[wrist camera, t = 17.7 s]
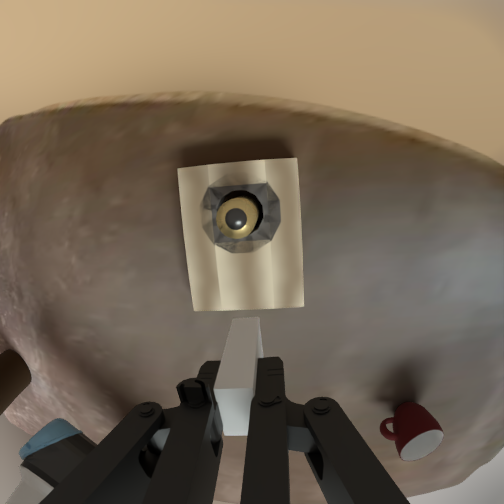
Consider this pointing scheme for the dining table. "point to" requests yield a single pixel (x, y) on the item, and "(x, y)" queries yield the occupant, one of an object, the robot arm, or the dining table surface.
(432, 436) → the mug
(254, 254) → the jig
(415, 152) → the dining table surface
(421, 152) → the dining table surface
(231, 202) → the cylinder with metal cap
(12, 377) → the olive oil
